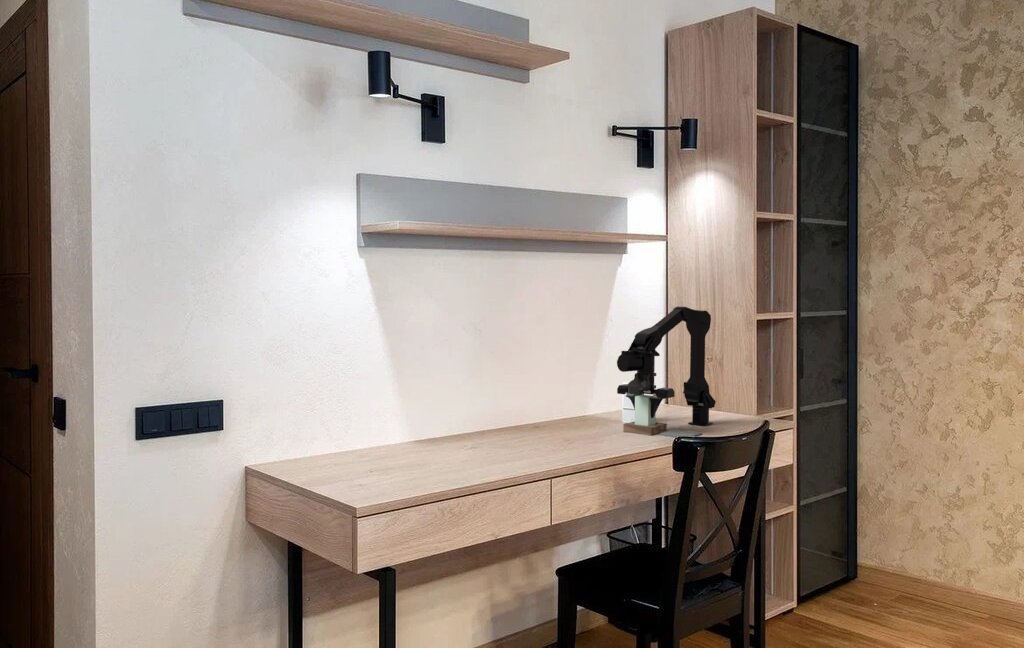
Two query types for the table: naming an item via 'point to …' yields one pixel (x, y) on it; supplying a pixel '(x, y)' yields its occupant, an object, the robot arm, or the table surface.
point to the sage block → (643, 411)
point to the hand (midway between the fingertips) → (645, 417)
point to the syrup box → (627, 408)
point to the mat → (679, 433)
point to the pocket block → (645, 428)
